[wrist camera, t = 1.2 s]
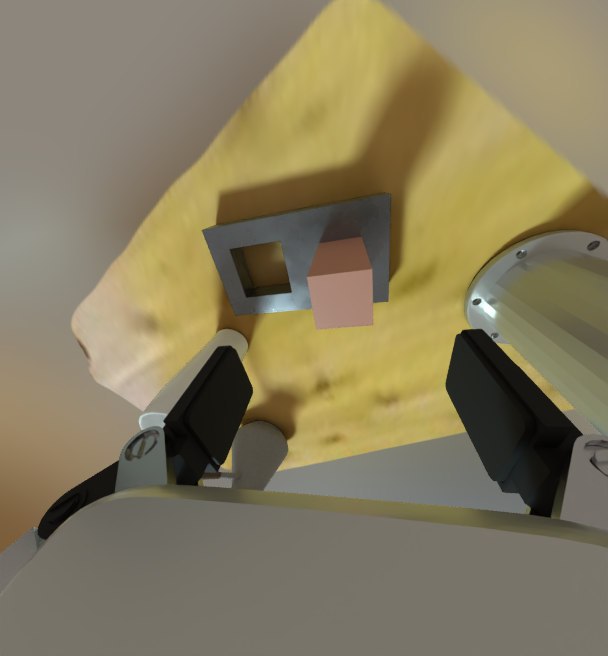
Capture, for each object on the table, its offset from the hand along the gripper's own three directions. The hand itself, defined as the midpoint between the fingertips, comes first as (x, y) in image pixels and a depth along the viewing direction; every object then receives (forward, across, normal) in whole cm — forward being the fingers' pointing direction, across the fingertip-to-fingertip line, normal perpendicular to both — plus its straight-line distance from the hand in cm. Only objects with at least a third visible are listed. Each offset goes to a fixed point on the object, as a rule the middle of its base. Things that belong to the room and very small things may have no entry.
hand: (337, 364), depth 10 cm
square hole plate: (+18, +4, 0) cm, 19 cm away
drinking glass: (+18, +17, +11) cm, 27 cm away
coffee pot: (+18, +20, +30) cm, 41 cm away
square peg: (+15, 0, 0) cm, 15 cm away
